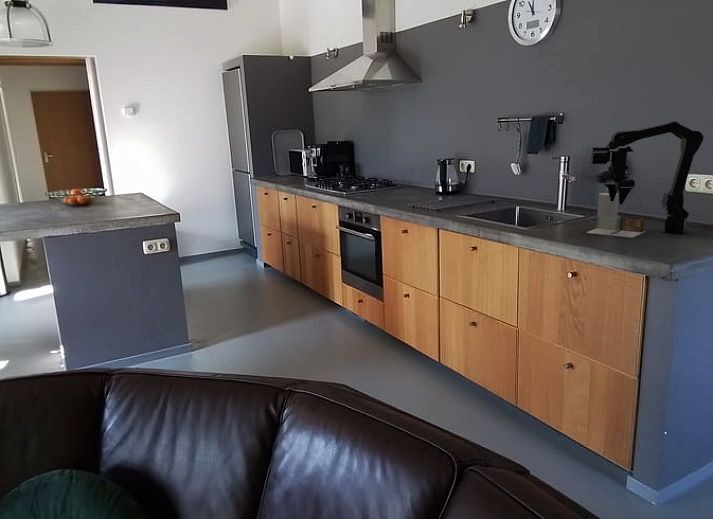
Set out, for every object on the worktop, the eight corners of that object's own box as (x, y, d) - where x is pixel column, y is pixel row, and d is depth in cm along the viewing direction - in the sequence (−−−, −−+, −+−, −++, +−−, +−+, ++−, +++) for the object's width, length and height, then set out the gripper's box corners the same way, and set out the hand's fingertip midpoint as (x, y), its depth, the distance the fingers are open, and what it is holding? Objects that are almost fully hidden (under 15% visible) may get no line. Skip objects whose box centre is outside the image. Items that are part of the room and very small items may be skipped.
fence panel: (619, 229, 225) (620, 215, 224) (618, 229, 225) (619, 216, 223) (597, 227, 232) (598, 214, 230) (596, 227, 231) (596, 214, 230)
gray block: (600, 218, 255) (602, 192, 252) (619, 219, 250) (620, 193, 247) (595, 220, 249) (596, 194, 246) (614, 222, 244) (615, 195, 241)
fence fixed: (643, 232, 219) (644, 218, 218) (642, 233, 218) (643, 218, 217) (619, 230, 225) (620, 216, 224) (618, 230, 225) (619, 216, 223)
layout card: (645, 231, 220) (645, 231, 220) (632, 237, 211) (632, 237, 211) (599, 227, 233) (599, 226, 233) (586, 233, 223) (586, 232, 223)
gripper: (589, 163, 226) (587, 200, 230) (606, 166, 208) (604, 206, 212) (617, 161, 226) (615, 199, 229) (636, 165, 208) (634, 205, 211)
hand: (616, 202), depth 220 cm, fingers open, 9 cm apart
